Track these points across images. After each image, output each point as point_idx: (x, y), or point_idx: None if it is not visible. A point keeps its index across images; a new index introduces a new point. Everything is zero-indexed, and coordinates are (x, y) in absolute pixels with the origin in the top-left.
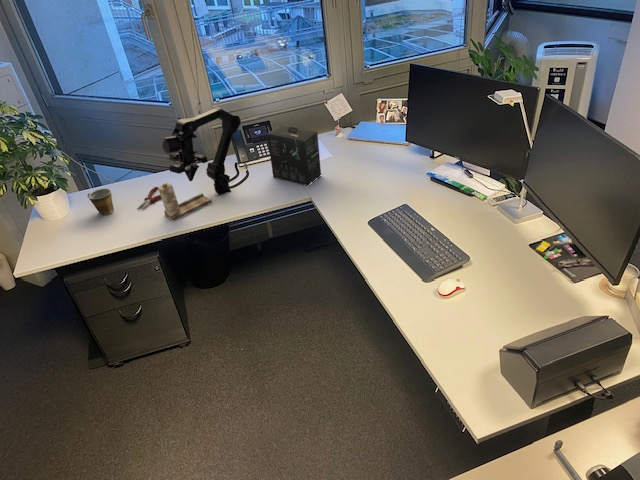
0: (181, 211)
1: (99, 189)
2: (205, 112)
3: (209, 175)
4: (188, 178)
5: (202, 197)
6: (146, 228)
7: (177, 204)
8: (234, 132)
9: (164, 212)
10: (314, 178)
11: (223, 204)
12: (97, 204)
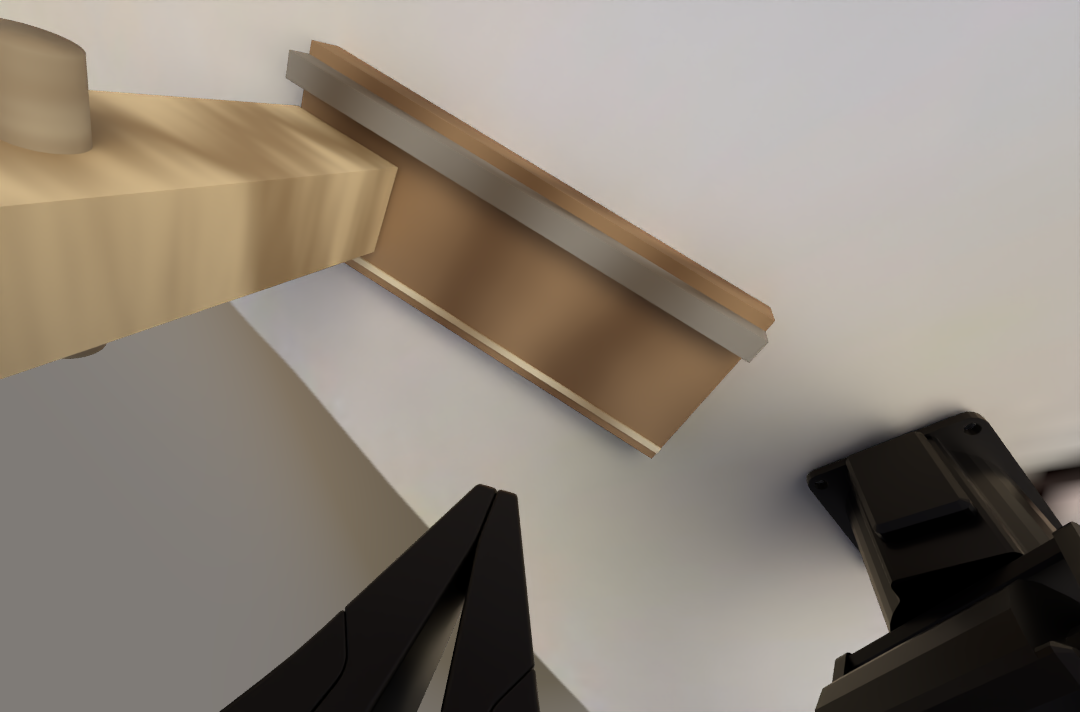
0: (391, 249)
1: None
2: None
3: (939, 688)
4: (433, 533)
5: (693, 356)
6: (129, 8)
7: (294, 271)
8: None
9: (312, 45)
10: None
11: (628, 539)
12: None
